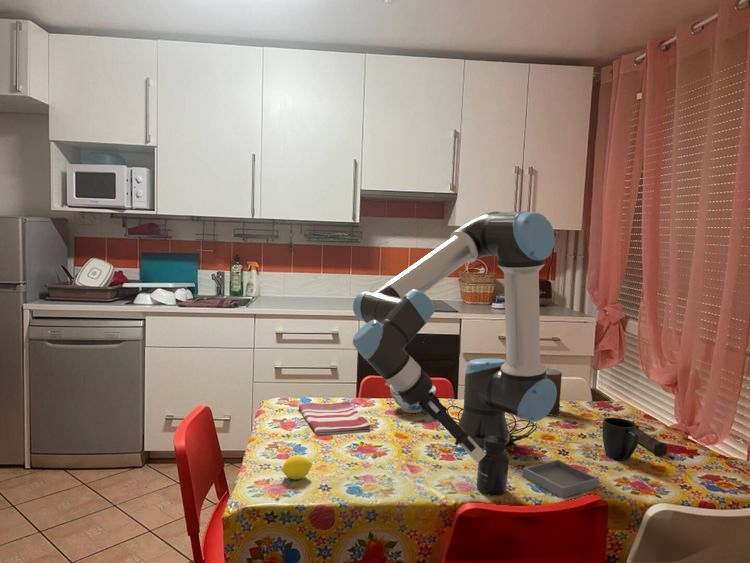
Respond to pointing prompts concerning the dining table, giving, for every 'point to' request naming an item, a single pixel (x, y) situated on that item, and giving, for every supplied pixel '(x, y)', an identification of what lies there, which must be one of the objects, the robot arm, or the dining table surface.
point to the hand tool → (651, 443)
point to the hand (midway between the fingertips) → (470, 446)
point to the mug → (619, 438)
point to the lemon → (296, 467)
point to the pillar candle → (556, 379)
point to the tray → (560, 478)
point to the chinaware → (404, 406)
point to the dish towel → (333, 418)
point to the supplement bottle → (493, 467)
